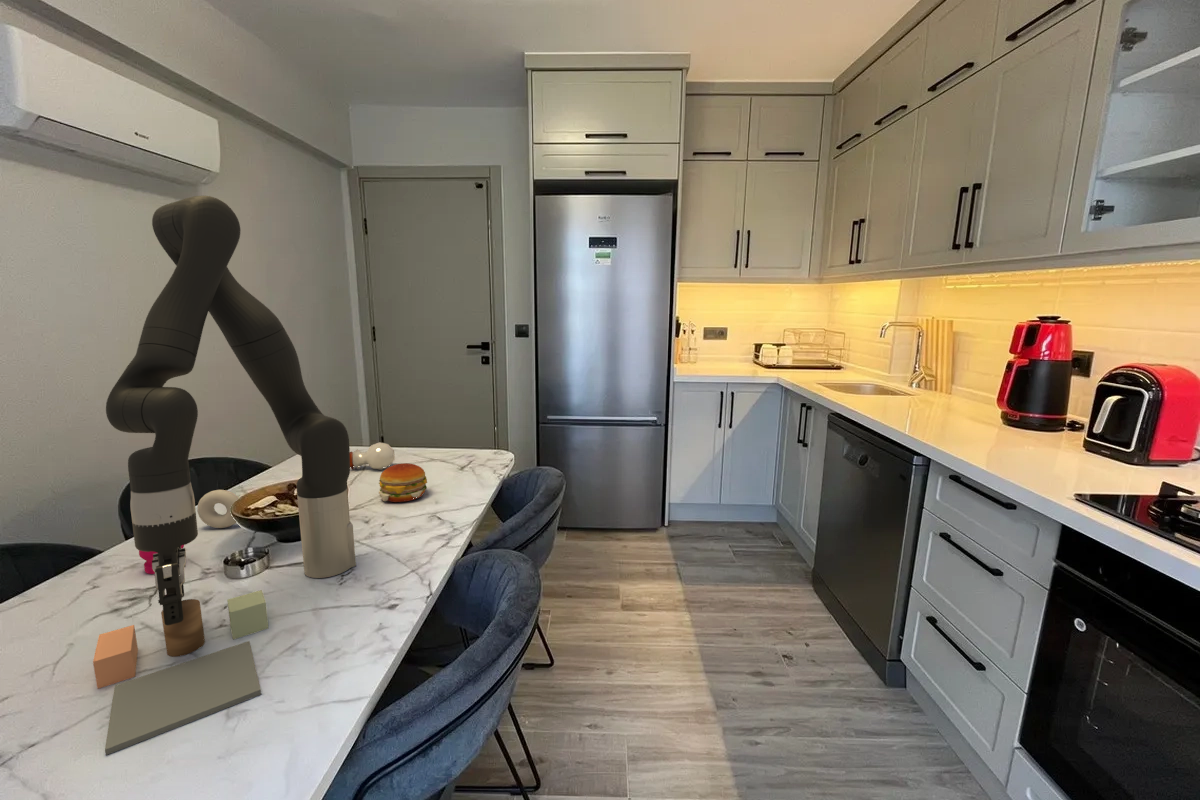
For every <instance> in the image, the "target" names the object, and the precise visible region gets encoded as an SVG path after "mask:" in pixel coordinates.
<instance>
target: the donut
mask: <svg viewBox="0 0 1200 800" xmlns="http://www.w3.org/2000/svg"><path fill="white" fill-rule="evenodd" d="M238 499H240V498H239V496H238V495H237V494H235V493H234V492H232V491H229V490H226V489H225V490H224V489H216V490H211V491H209V492H207V493H205V494H204V495H203V496H202V497H201V498H200V499H199V501H198V503H197V511H196V513H197V514H198V517H199V518H200V520H201V521H202V523H204V524H205V525H206V526H209V527H211V528H213V529H214V528H216V529H224V528H229V527H232V526H233V525H235V524H236V523H237V522H236V521H235V520H234V519H233V517H232V516H231V513H230V507H231V505H232V504H233V503H234V502H235V501H237V500H238ZM216 504H221V505H223V506H224V507H225V509H226V513H224V514H221V513H218V512H217V511H216V510H215V505H216Z"/></svg>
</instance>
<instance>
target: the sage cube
mask: <svg viewBox="0 0 1200 800" xmlns="http://www.w3.org/2000/svg"><path fill="white" fill-rule="evenodd" d="M226 601H227V611H228V617H229V625H230V631H231V637H232V640H237V639H240V638H243V637H246V636H249V635H252V634H256V633H258V632H261V631H265V630H268V629H269V621H268V613H267V611H268V609H267V602H266V599H265V595H264V592H263V589H260V590H257V591H253V592H250V593H246V594H243V595H242V594H241V595H239V596H235V597H232V598H228V599H227V600H226Z"/></svg>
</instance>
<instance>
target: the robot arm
mask: <svg viewBox="0 0 1200 800" xmlns="http://www.w3.org/2000/svg"><path fill="white" fill-rule="evenodd" d="M240 224H241V223H240V222H239V219H238V217H237V215H236V213H235V212H234V211H233V209H232V208H231V207H230V206H229V205H228V204H227V203H226V202H224V200H223V201H222V200H221V199H219V198H217V197H214V196H211V195H194V196H189V197H186V198H183V199H180V200H177V201H174V202H171V203H166V204H163V205H162V206H160V207H158V208H157V209H156V210H155V211H154V213H153V214H152V220H151V225H152V230H153V233H154V235H155V237H156V239H157V240H158V243H159V244H160V246H161V247H162V249H163V250H164V251H165V253H166V255H168V258H170V259H171V261H172V262H173V263H174V265H175V269H174V270H173V273H172V275H171V276H170V277H169V279H168V281H167V283H166V284H165V286H164V287H163V288H162V290H161V292H160V293H159V294H158V296H157V298H156V299H155V300H154V302H153V304H152V306H151V307H150V309H149V311H148V313H147V315H146V317H145V320H144V323H143V327H142V329H141V330H142V331H141V334H140V338H139V341H138V345H137V349H136V353H135V355H134V357H133V358H132V360H131V361H130V362H129V363H128V365H127V366H126V368H125V369H124V371H123V372H122V373H121V375H120V377H119V379H117V381H116V382H115V384H114V386H113V387H112V389H111V390H110V391H109V394H108V397H107V399H106V403H105V413H106V419H107V420H108V422H109V424H110V425H111V426H112V427H113V428H114V429H116V430H117V431H120V432H123V433H130V434H154V435H155V438H154V442H153V445H152V446H150V447H149V446H148V447H145V448H141V449H137V450H135V451H134V452H132V453H131V454H130V455H128V459H127V471H128V481H129V487H130V502H129V503H130V504H129V505H130V514H131V522H132V523H131V524H132V532H133V540H134V541H133V542H134V547H135V548H136V550H138V551H139V550H140V551H144V552H150V551H151V552H157V553H156V554H153V560H152V569H153V571H154V572H155V574H154V582H155V583H154V584H155V585H154V587H155V588H156V589H157V590H158V600H157V601H158V604H159V605H160V606H162V610H163V614H164V622H165V625H172V624H176V623H179V622H182V621H183V608H182V600H183V598H184V597H185V588H184V587H185V586H184V583H185V582H186V576H185V575H186V574H185V568H186V564H187V560H186V558H187V552H186V550H187V549H186V547H183V548H181V546H182V545H184V546H186V545H188V544H190V543H192V542H193V541H195V540H196V539H197V537H198V535H199V530H198V523H197V522H198V520H197V511H196V503H195V502H196V500H195V494H194V490H193V487H192V482H191V473H190V472H191V471H190V464H189V463H190V462H189V455H190V451H191V447H192V443H193V438H194V433H195V430H196V425H197V422H198V417H199V416H198V415H199V412H198V411H199V410H198V405H197V402H196V400H195V398H194V397H193V395H191V393H190V392H188V391H187V390H186V389H183V388H181V387H173V386H164V385H165V384H166V383H167V382H168V381H169V380H170V379H173V378H177V377H178V378H179V377H181V376H186V375H188V374H190V373H191V372H192V371H193V370H194V367H195V363H196V359H197V355H198V351H199V349H200V344H201V339H202V336H203V335H202V334H203V330H204V327H205V322H206V319H207V317H208V314H210V315H211V317H212V318H213V320H214V322H215V323H216V325H217V326H218V328H219V330H220V331H221V333H222V335H223V337H224V338H225V341H226V342H227V344H228V345H229V347H230V349H231V350H232V352H233V353H234V355H235V357H236V358H237V360H238V362H239V363H240V365H241V366H242V367H243V369H244V371H245V372H246V374H247V375H248V377H249V378H250V379H251V381H252V383H253V385H254V386H255V387H256V388H257V390H258V391H259V392H260V394H261V395H262V397H263V398H264V399H265V400H266V402H267V403H268V406H269V407H270V409H271V411H272V413H273V415H274V417H275V420H276V422H277V423H278V426H279V428H280V430H281V432H282V434H283V437H284V439H285V441H286V443H287V445H288V446H289V448H290V449H291V450H292V451H293V452H294V453H295V454H297V455H299V456H300V457H301V471H302V474H301V477H300V478H299V479H298V480H297V481H296V497H297V507H298V516H299V517H298V519H299V528H300V541H301V550H302V561H303V565H302V566H303V572H304V575H305V576H306V577H308V578H313V579H323V578H329V577H334V576H337V575H340V574H343V573H344V572H346V571H348V570H350V568H355V567H357V565H356V564H357V563H356V550H355V534H354V526H353V523H352V522H351V518H350V516H351V515H350V507H349V506H350V505H349V492H348V479H349V478H350V473H351V468H350V452H351V451H350V450H351V448H350V438H349V434H348V433H349V432H348V430H347V428H346V426H345V425H344V423H342V422H341V421H340V420H339V419H336V418H334V417H332V416H328V415H325V414H324V413H322V411H321V410H320V409H319V407H318V406H317V404H316V403H315V401H314V400H313V398H312V396H311V395H310V394H309V392H308V390H307V387H306V386H305V383H304V380H303V375H302V370H301V369H302V367H301V365H300V361H299V356H298V353H297V351H296V348H295V345H294V344H293V341H292V340H291V338H290V336H289V335H288V333H287V331H286V329H285V327H284V325H283V324H282V322H281V321H280V319H279V318H278V317H277V316H276V314H275V313H274V312H273V311H272V310H271V309H270V308H269V307H267V306H266V305H265V304H264V303H262V301H260V300H259V299H258V298H256V297H255V296H254V295H253V294H251V293H250V292H249V291H248V290H247V289H245V288H244V287H243V286H242V285H241V284H240V283H239V282H238V281H237V279H236V278H235V277H234V275H233V273H232V272H231V271H230V269H229V268H228V265H229V263H230V261H231V259H232V257H233V255H234V253H235V251H236V248H237V246H238V245H239V242H240V239H241V238H240V237H241V225H240Z"/></svg>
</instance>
